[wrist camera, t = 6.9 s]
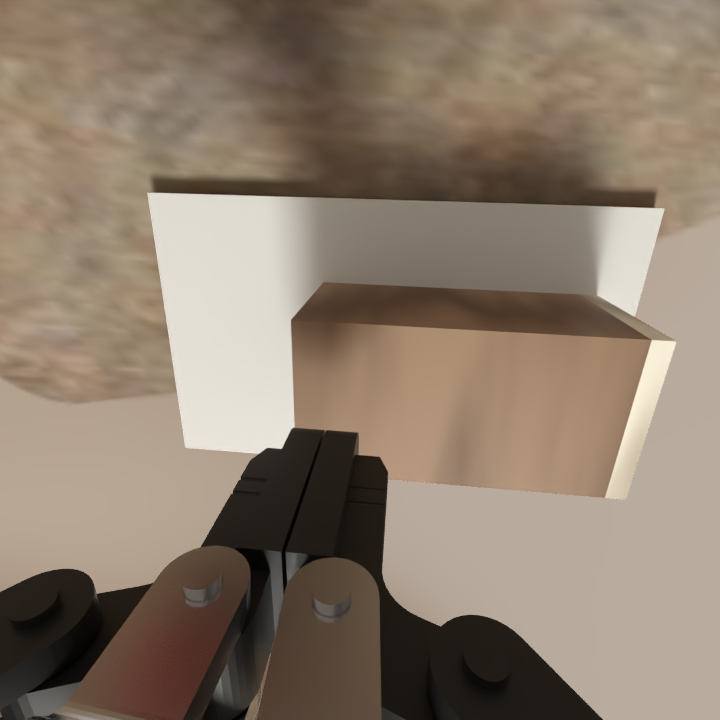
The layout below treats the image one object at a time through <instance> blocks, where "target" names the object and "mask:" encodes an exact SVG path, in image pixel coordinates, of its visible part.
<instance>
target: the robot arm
mask: <svg viewBox="0 0 720 720" xmlns="http://www.w3.org/2000/svg"><path fill="white" fill-rule="evenodd" d="M387 484H388V471H387V469H386V467H385V465H384V464H383V462H382V460H381V458H380V457H377V456H365V455H359V433H358V432H346V431H333V430H326V432H325V430H318V429H305V428H292V429H291V431H290V433H289V435H288V437H287V439H286V441H285V443H284V445H283V448H282V449H277V448H266V449H265V450H263V451H262V452H261V453H259V454H258V455H257V456H256V457H254V458H253V459H252V460H250V462H249V464H248V465H247V467H246V469H245V471H244V472H243V474H242V476H241V480H239V481H238V483H237V485H236V486H235V488H234V490H233V494H231V495H230V497H229V499H228V500H227V502H226V504H225V506H224V507H223V509H222V511H221V513H220V514H219V516H218V518H217V520H216V522H215V523H214V525H213V527H212V528H211V530H210V532H209V534H208V535H207V537H206V539H205V541H204V543H203V544H202V546H201V548H198V549H194V550H192V551H189V552H187V553H185V554H183V555H181V556H179V557H178V558H176V559H175V560H173V561H172V562H171V563H170V564H169V565H168V566H167V567H165V569H164V570H163V571H162V572H161V573H160V575H159V576H158V578H157V579H156V580H155V582H154V583H151V584H148V585H143V586H139V587H133V588H127V589H122V590H117V591H111V592H105V593H99V594H96V590H95V587H94V584H93V581H92V579H91V578H90V577H89V576H88V575H87V574H85V573H84V572H82V571H79V570H74V569H59V570H53V571H48V572H44V573H41V574H38V575H35V576H33V577H31V578H28V579H26V580H24V581H22V582H20V583H18V584H16V585H14V586H12V587H10V588H8V589H6V590H4V591H2V592H0V712H1V715H2V717H1V718H0V720H254V718H255V715H256V713H257V710H258V707H259V703H260V700H261V704H260V708H259V712H258V717H257V720H603V719H602V718H601V717H599V715H598V714H597V713H596V712H595V711H594V710H593V709H592V708H591V707H590V706H589V705H587V703H586V702H585V701H584V700H583V699H582V698H581V697H580V696H579V695H578V694H577V693H576V692H575V691H574V690H573V689H572V688H571V687H570V686H569V685H568V684H567V683H566V682H565V681H564V680H563V679H562V678H561V677H560V676H559V675H558V674H557V673H556V672H555V671H554V670H553V669H552V668H551V667H550V666H549V665H548V664H547V663H546V662H545V661H544V660H543V659H542V658H541V657H540V656H539V655H538V654H537V653H536V652H535V651H534V650H533V649H532V648H531V647H530V646H529V645H528V644H527V643H526V642H525V641H524V640H523V639H522V638H521V637H520V636H519V635H518V634H517V633H516V632H515V631H513V630H512V629H510V628H509V627H507V626H506V625H504V624H502V623H500V622H498V621H496V620H494V619H491V618H488V617H484V616H478V615H466V616H460V617H456V618H453V619H451V620H449V621H447V622H446V623H445V624H444V625H442V626H441V627H440V626H438V625H436V624H433V623H431V622H429V621H427V620H424V619H422V618H420V617H418V616H416V615H414V614H412V613H410V612H409V611H407V610H406V609H404V608H403V607H402V606H401V605H399V604H398V603H397V602H396V601H395V600H394V598H393V597H392V596H391V595H390V593H389V591H388V590H387V588H386V586H385V583H384V581H383V576H382V563H383V548H384V533H385V516H386V501H387V500H386V499H387ZM270 653H271V657H270V661H269V666H268V671H267V676H266V680H265V685H264V689H263V694H262V699H261V682H262V679H263V676H264V672H265V669H266V665H267V662H268V659H269V655H270Z"/></svg>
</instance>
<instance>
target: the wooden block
mask: <svg viewBox="0 0 720 720" xmlns="http://www.w3.org/2000/svg"><path fill="white" fill-rule="evenodd" d="M291 339H292V367H293V395H294V423H295V428H305V429H318V430H325V432H326V430H333V431H346V432H358V433H359V455H365V456H377V457H380V458H381V460H382V462H383V464H384V465H385V467H386V469H387V471H388V479H390V480H403V481H414V482H425V483H437V484H449V485H461V486H472V487H484V488H497V489H508V490H520V491H531V492H543V493H555V494H567V495H578V496H579V495H580V496H590V497H602V498H614V499H626V498H627V495H628V491H629V488H630V486H631V482H632V479H633V476H634V473H635V470H636V467H637V464H638V460H639V457H640V454H641V451H642V448H643V445H644V441H645V439H646V435H647V432H648V429H649V426H650V423H651V420H652V417H653V414H654V410H655V407H656V404H657V401H658V398H659V395H660V391H661V389H662V385H663V382H664V379H665V376H666V373H667V370H668V367H669V364H670V360H671V357H672V354H673V351H674V348H675V345H676V341H675V340H673V339H672V338H670V337H668V336H666V335H665V334H663V333H661V332H659V331H658V330H656V329H654V328H653V327H651V326H649V325H647V324H646V323H644V322H642V321H640V320H639V319H637V318H635V317H634V316H632V315H630V314H629V313H627V312H625V311H623V310H622V309H620V308H618V307H616V306H615V305H613V304H611V303H610V302H608V301H606V300H604V299H603V298H601V297H599V296H598V295H581V294H560V293H539V292H518V291H497V290H476V289H454V288H433V287H412V286H391V285H370V284H349V283H328V282H323V283H322V285H321V286H320V287H319V288H318V289H317V290H316V292H315V293H314V294H313V295H312V296H311V297H310V298H309V300H308V301H307V302H306V303H305V304H304V305H303V307H302V308H301V309H300V310H299V311H298V312H297V314H296V315H295V316H294V317H293V318H292V319H291Z"/></svg>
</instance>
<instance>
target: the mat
mask: <svg viewBox="0 0 720 720" xmlns="http://www.w3.org/2000/svg"><path fill="white" fill-rule="evenodd" d="M148 199H149V206H150V213H151V219H152V226H153V233H154V240H155V246H156V253H157V260H158V267H159V273H160V280H161V287H162V293H163V300H164V307H165V314H166V320H167V327H168V334H169V341H170V347H171V354H172V361H173V367H174V374H175V381H176V388H177V394H178V401H179V408H180V414H181V421H182V427H183V434H184V441H185V447H186V448H197V449H209V450H222V451H233V452H245V453H258V454H259V453H261V452H262V451H263V450H265V449H266V448H277V449H282V448H283V445H284V443H285V441H286V439H287V437H288V435H289V433H290V431H291V429H292V428H295V423H294V395H293V367H292V339H291V319H292V318H293V317H294V316H295V315H296V314H297V312H298V311H299V310H300V309H301V308H302V307H303V305H304V304H305V303H306V302H307V301H308V300H309V298H310V297H311V296H312V295H313V294H314V293H315V292H316V290H317V289H318V288H319V287H320V286H321V285H322V283H323V282H328V283H349V284H370V285H391V286H412V287H433V288H454V289H476V290H497V291H518V292H539V293H560V294H581V295H598V296H599V297H601V298H603V299H604V300H606V301H608V302H610V303H611V304H613V305H615V306H616V307H618V308H620V309H622V310H623V311H625V312H627V313H629V314H630V315H632V316H634V317H635V314H636V311H637V307H638V304H639V300H640V296H641V293H642V289H643V285H644V282H645V278H646V274H647V271H648V267H649V264H650V260H651V256H652V252H653V249H654V245H655V242H656V238H657V234H658V231H659V227H660V224H661V220H662V216H663V213H664V208H648V207H615V206H582V205H550V204H517V203H484V202H451V201H418V200H386V199H353V198H320V197H287V196H255V195H222V194H189V193H148Z"/></svg>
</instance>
